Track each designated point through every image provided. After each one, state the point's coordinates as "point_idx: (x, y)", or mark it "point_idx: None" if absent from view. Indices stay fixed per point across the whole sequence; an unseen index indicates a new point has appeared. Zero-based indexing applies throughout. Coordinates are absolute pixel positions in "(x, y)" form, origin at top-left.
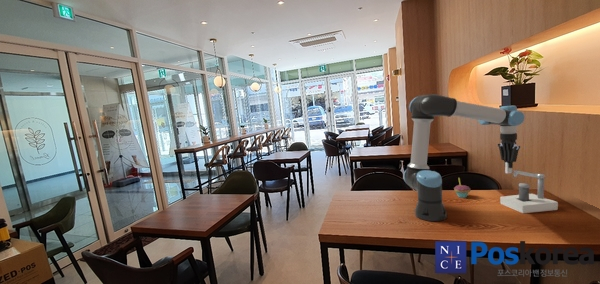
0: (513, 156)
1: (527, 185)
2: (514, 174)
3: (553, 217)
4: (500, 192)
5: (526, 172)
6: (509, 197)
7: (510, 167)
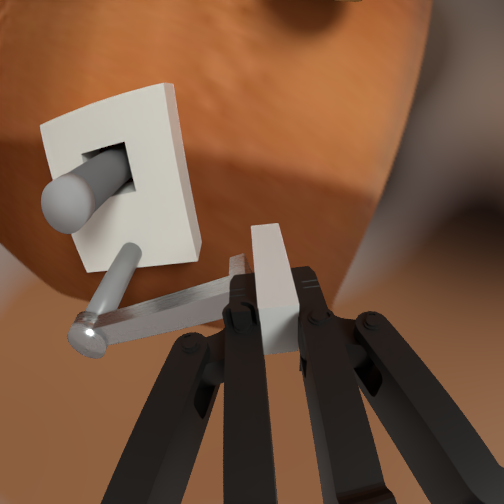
0: (143, 422)
1: (43, 212)
2: (234, 268)
3: (36, 197)
4: (339, 188)
5: (161, 325)
6: (143, 122)
7: (232, 284)
